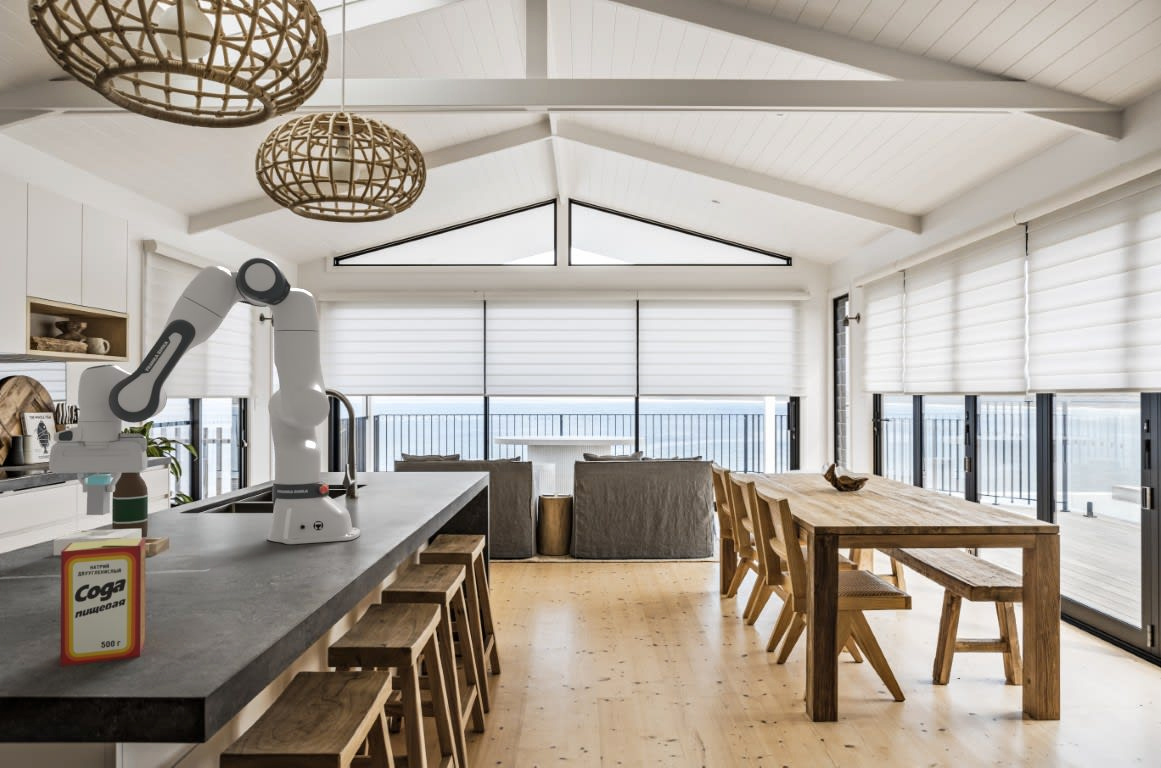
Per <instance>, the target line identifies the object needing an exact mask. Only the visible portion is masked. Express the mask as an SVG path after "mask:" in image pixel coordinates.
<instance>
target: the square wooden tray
mask: <svg viewBox="0 0 1161 768" xmlns="http://www.w3.org/2000/svg"><path fill="white" fill-rule="evenodd" d="M145 538H146V549H145V557H148V556H158V555H159V554H162V553H163V552H165V551H167V550H169V549H170V537H145Z"/></svg>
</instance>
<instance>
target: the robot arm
mask: <svg viewBox="0 0 1161 768" xmlns="http://www.w3.org/2000/svg"><path fill="white" fill-rule="evenodd" d="M237 303H240V304H241V303H242V304H246V305H251V306H254V307H260V308H262V307H263V308H266V307H267V308H269V309H270V310H271V313H272V316H273V355H274V356H273V358H274V359H273V361H274V362H273V363H274V365H275V367H276V371H277V377H278V382H279V387H280V388H279V389H278V390H277V391H275V392H274V393H273V394H272V395H271V396H270V399H269V401H268V405H267V408H268V414H269V418H270V419H269V420H270V428H271V436H272V441H273V447H274V449H273V450H274V483H273V484H272V485H273V486H272V493H271V495H272V497H271V499H272V505H273V513H272V520H271V525H270V529H269V533H268V536H267V540H268V541H271V542H275V543H283V544H284V545H285V544H286V545H298V544H311V543H312V544H313V543H327V542H343V541H345V542H346V541H351V540H355V539H357V538H359V536H360V535H361V530H360V528H359V527H358V528H357V527H353V526H352V524H353V523H352V519H351V515H350V512H349V510H348V509H347V507H345V506H343V505H342V504H340V503H339V502H338V501H336V500H335V499H333V498H332V497H331V496H329V493H330V489H329V488H330V487H329V483H326V482H324V481H322V480H321V477H322V476H321V472H322V471H321V463H322V462H321V459H322V458H321V449H320V446H319V444H318V438H317V433H316V427H317V426H319V425H321V424H323V422H324V421H325V420H326V419H327V418H328V416H329V415H330V409H331V408H330V407H331V405H330V401H329V398H328V396H327V393H326V388H325V379H324V377H323V372H322V365H321V349H320V348H321V347H320V321H319V313H318V307H317V306H318V305H317V302H316V299H315V296H314V295H313V294H312V293H311V292H309V291H308V290H306V289H304V288H303V289H302V288H297V287H296V288H295V287H292V286H291V283H290V281H289V280H288V279H287V277H286V275H285V274H284V272H283V270H282V269H281V268H280V266H279V265H278V264H277V263H276V262H275V261H273V260H272V259H268V258H266V257H255V258H254V257H252V258H250V259H248V260H246V261H245V262H243V263H242V264H241V266H240V267H239V268H238V270H237V271H231V270H230V269H227V268H226V267H223V266H219V265H208V266H205V267H204V268H203V269H201V271H199V272H198V273H197V275H196V276H195V277H194V278H193V279H192V280H191V281H190V282H189V283H188V285H187V286H186V288H185V289H184V290H183V292H182V293H181V295H180V296H179V297H178V299H177V301H176V302H175V304H174V306H173V308H172V309H171V312H170V314H169V316H168V319H167V321H166V323H165V326H164V327H163V329H162V331H161V334H160V335H159V337H158V338H157V340H156V342H155V343H154V345H153V346H152V348H151V349H150V350H149V352H148V353H147V355H146V356H145V358H144V359H143V360H142V361H141V362H140V364H139V366H138V367H137V369H135V371H134V372H132V373H130V372H128V371H126V370H124V369H122V367H120V366H119V365H117V364H101V365H93V366H90V367H87V368H86V369H84V370H83V371H82V372H81V375H80V377H79V381H78V392H77V404H78V408H79V415H78V417H77V426H74V427H71V428H68V429H67V428H66V429H64V430H61V431H58V432H55V433H54V434H53V441H54V442H56V443H54V444H53V445H52V446H51V447H50V448H51V449H50V452H49V458H48V459H49V460H48V468H49V471H50V472H51V473H52V474H76V476H77V477H76V478H77V479H78V481H79V483H80V484H81V485H82V493H87V484H88V476H89V474H101V473H103V474H105V473H106V474H107V473H109V474H110V475H111V479H112V480H110V484H107V485H106V489H105V491H106V492H110V493H113V492H115V484H116V483H117V481H118V480H119V478H120V477H121V473H128V472H140V473H142V472H145V470H147V468H148V454H147V449H148V439H147V438H146V437H145V435H143V434H141V433H139V432H135V433H127V432H123V433H122V427H123V426H122V421H124V422H126V423H132V424H133V423H135V424H136V423H141V422H144V421H147V420H148V419H150V418H153V417H155V416H157V415H159V414H160V413H161V412H162V411H163V410H164V408H165V407H166V404H167V400H168V399H167V393H166V391H165V389H164V388H163V386H164V384H165V383H166V381H167V379H168V378H169V376H170V375H171V373H172V372H173V371H174V369H175V368H176V366H177V365H178V363H179V362H180V361H181V359H182V358H183V356H184V355H186V353H188V352H189V351H191V350H192V349H193V348H195V347H197V346H199V345H201V344H203V343H205V342H207V340H208V339H209V338H210V337H212V335H214V334H215V332H216V331H217V329H219V328H220V326H221V325H222V323H223V321H224V320H225V318H226V317H227V315H228V314H229V312H230V311H231V309H232V308H233V307H234V305H236V304H237Z"/></svg>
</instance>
